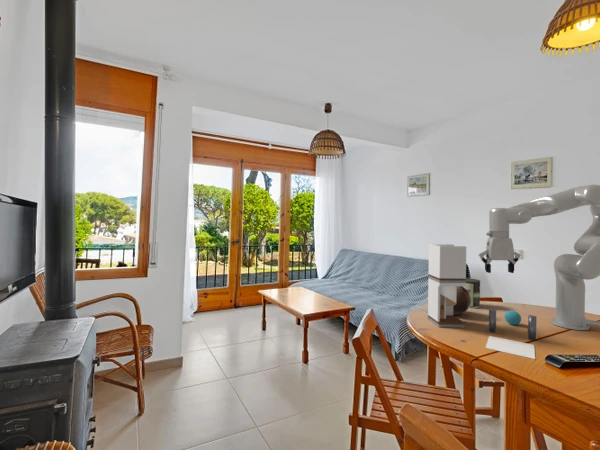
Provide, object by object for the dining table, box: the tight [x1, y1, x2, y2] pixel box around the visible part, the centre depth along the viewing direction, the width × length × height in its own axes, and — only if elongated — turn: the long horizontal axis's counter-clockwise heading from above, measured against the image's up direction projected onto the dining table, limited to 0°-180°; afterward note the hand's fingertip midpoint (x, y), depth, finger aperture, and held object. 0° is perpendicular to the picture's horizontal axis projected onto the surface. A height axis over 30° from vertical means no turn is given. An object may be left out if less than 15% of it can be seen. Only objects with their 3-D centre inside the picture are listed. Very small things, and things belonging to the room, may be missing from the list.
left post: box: [488, 308, 497, 333], centre depth 123 cm, size 2×2×9 cm
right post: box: [527, 314, 538, 341], centre depth 115 cm, size 2×2×9 cm
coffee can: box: [462, 277, 481, 309], centre depth 161 cm, size 10×10×14 cm
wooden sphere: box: [453, 286, 471, 316], centre depth 146 cm, size 15×15×15 cm
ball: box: [504, 310, 522, 326], centre depth 131 cm, size 6×6×6 cm
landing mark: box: [485, 335, 536, 360], centre depth 108 cm, size 14×14×1 cm
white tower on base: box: [427, 243, 467, 328], centre depth 132 cm, size 11×11×35 cm
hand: (499, 272), depth 135 cm, fingers open, 9 cm apart
